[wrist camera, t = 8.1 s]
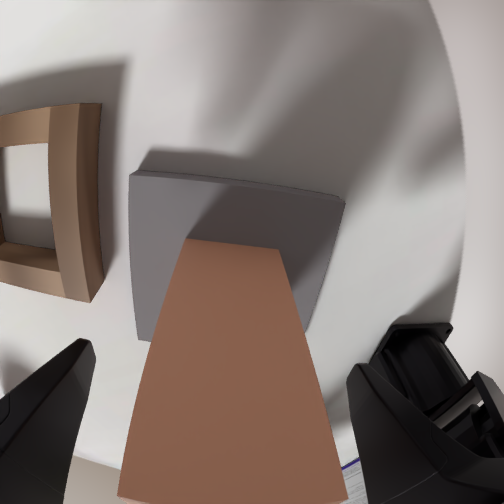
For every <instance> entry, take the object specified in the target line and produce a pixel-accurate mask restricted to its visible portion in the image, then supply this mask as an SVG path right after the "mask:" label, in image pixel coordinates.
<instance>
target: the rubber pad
mask: <svg viewBox="0 0 504 504" xmlns="http://www.w3.org/2000/svg"><path fill="white" fill-rule="evenodd" d="M345 204H346V203H345V202H344V201H343V200H342V199H340V198H339V197H338V196H333V195H328V194H323V193H318V192H312V191H306V190H301V189H295V188H289V187H282V186H276V185H270V184H263V183H256V182H249V181H241V180H233V179H225V178H217V177H208V176H199V175H189V174H178V173H166V172H153V171H139V170H137V171H135V172H133V173H132V174H130V175H129V251H130V268H131V282H132V293H133V303H134V312H135V320H136V328H137V335H138V340H143V341H149V342H151V341H152V338H153V334H154V331H155V328H156V324H157V321H158V318H159V314H160V311H161V308H162V305H163V302H164V299H165V296H166V293H167V289H168V286H169V283H170V280H171V277H172V275H173V272H174V269H175V266H176V263H177V260H178V257H179V254H180V252H181V249H182V246H183V243H184V240H185V238H187V239H196V240H204V241H213V242H221V243H229V244H238V245H246V246H254V247H263V248H271V249H279V252H280V255H281V258H282V262H283V265H284V268H285V271H286V274H287V278H288V281H289V284H290V287H291V291H292V294H293V297H294V300H295V304H296V307H297V310H298V314H299V317H300V320H301V324H302V327H303V330H304V333H305V331H306V328H307V325H308V323H309V320H310V317H311V314H312V311H313V308H314V306H315V303H316V300H317V297H318V294H319V291H320V288H321V285H322V282H323V279H324V276H325V273H326V269H327V266H328V263H329V260H330V257H331V253H332V250H333V247H334V243H335V240H336V237H337V233H338V230H339V226H340V223H341V219H342V215H343V212H344V208H345Z"/></svg>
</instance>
